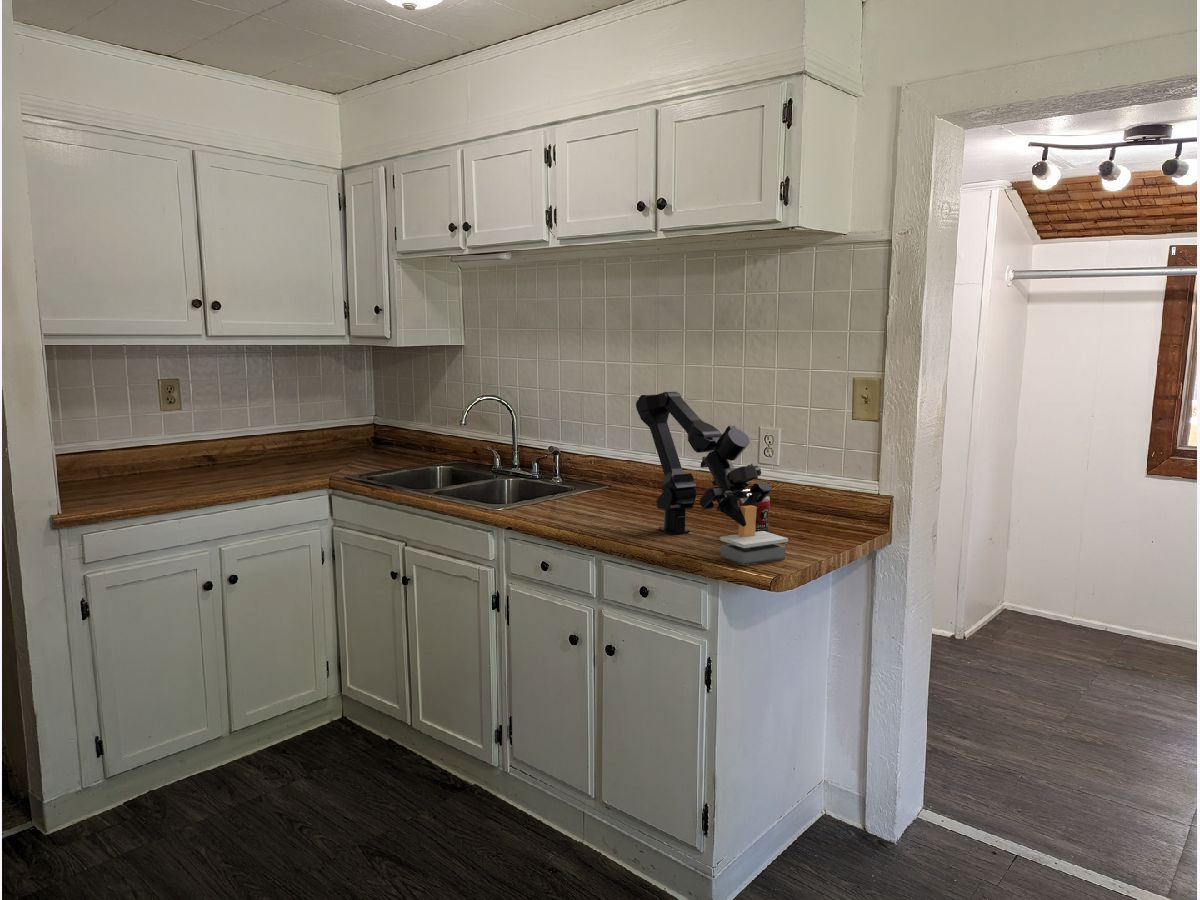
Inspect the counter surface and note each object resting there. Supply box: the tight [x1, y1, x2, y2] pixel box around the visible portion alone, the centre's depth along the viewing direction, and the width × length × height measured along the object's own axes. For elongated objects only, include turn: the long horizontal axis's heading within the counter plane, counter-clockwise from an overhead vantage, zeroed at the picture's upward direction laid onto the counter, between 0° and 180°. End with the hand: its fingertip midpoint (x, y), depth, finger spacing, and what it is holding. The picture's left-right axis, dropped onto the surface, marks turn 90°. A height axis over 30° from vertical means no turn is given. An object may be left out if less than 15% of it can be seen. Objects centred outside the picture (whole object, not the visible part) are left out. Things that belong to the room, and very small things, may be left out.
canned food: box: [737, 495, 771, 534], centre depth 224 cm, size 8×8×11 cm
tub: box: [720, 543, 786, 566], centre depth 203 cm, size 8×13×3 cm, turn 122°
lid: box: [719, 505, 789, 548], centre depth 202 cm, size 9×14×8 cm, turn 122°
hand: (751, 524), depth 203 cm, fingers closed on lid, 3 cm apart
